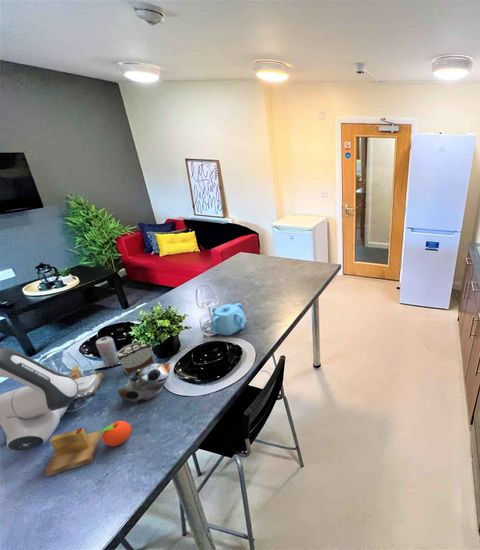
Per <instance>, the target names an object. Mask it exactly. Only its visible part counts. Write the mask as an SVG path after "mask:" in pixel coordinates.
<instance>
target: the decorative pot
mask: <svg viewBox="0 0 480 550" xmlns="http://www.w3.org/2000/svg"><path fill="white" fill-rule="evenodd" d="M243 307H244V306H243V304H242V303H240V302H237V303H234V304H232V303H231V304H230V303H227V304H223V305H222V306H214V307H213V308H212V310H211V312H212V316H211V320H210V329H211V333H212V334H213V335H217V334H219V335H222V336H233V335H234V334H236V333H237V332H239V331H240V330H243V329H245V325H246V323H247V317H246V314H245V313H244V311H243Z"/></svg>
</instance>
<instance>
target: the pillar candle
mask: <svg viewBox="0 0 480 550" xmlns="http://www.w3.org/2000/svg"><path fill="white" fill-rule="evenodd" d="M95 346H96V348H97V350H98V353H99V356H100V358H101V360H102V363H103V365H104V366H105V367H106V366H112V367H114V366H113V365H115V364H117V363H119V362H120V361H119V360H118V362H117V359H116V356H117V353H118V352H119V350H118V348H117V346H116V343H115V341H114V338H112V336H103V337H100V338H99V339H97V340H96V341H95ZM119 364H120V363H119ZM117 365H118V364H117ZM115 366H116V365H115Z"/></svg>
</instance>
